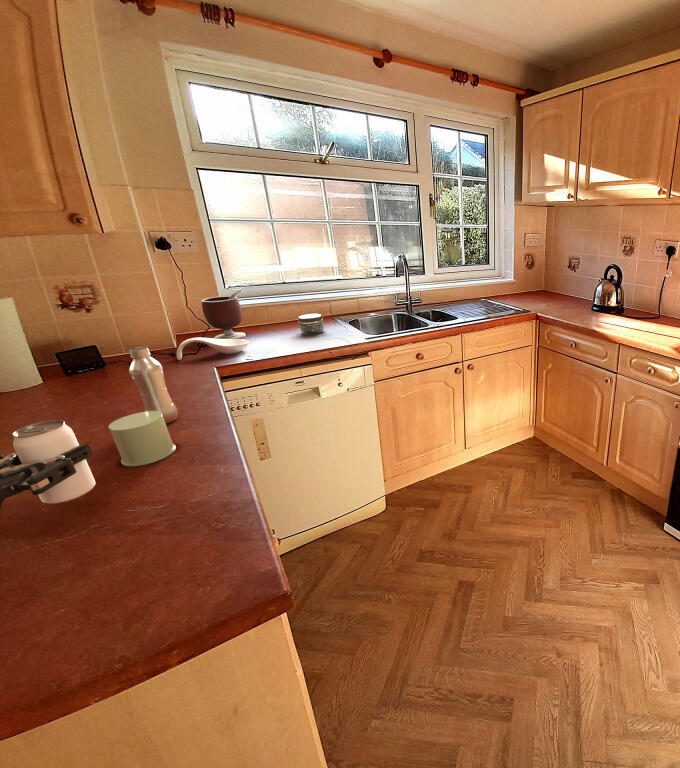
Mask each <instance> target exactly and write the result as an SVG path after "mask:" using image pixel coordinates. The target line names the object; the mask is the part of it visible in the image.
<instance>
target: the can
mask: <svg viewBox="0 0 680 768" xmlns="http://www.w3.org/2000/svg"><path fill="white" fill-rule="evenodd" d="M11 435H12V437H13V441H12V447H13V449H14V450H15V453H17V455H18V457H19V459H20V461H21V463H22V464H24V463H27V462H30V461H34V460H41V461H44V460H47V459H50V458H53V457H56V456H59V455H61V454H63V453H65V452H67V451H69V450H71V449H73V448H75V447H77V446H79V445H80V444H79V441H78V439H77V437H76V435H75V433H74V431H73V429H72V428H71V427H70V426H68V425H67V424H66V422H65V421H64V420H62V419H52V420H45V421H39V422H36V423H32V424H28V425H26V426H23V427H20V428H19V429H16V430H15V431H14V432H12V434H11ZM53 464H55V463H53ZM53 464H50V465H47V466H46V467H45V468H47V467H49V466H51V465H53ZM74 467H75V469H76V471H77V472H76V473H75V474H73V475H72V476H70V477H68V478H67V479H65V480H63V481H62V482H60V483H58V484H57V485H55V486H53V487H52V488H50V489H48V490H47V491H45V492H44V493H42V494H39V495H37V496H38V498H39V500H40V501H41V503H44V504H47V505H59V504H64V503H67V502H71V501H73V500H77V499H79V498H81V497H83V496H85V495H87V494H89V493H90V492H91V491H92V490H93V489H94V487H95V486H96V484H97V483H96V480H95V478H94V475H93V473H92V470H91V468H90V466H89V463H88V462H87V458H86V459H84V460H82V461H81V462H79V463H77V464H75V465H74ZM30 469H31V470H32V472H33V474H36V473H38V470H37V468H36V467H32V468H30ZM61 474H62V473H61Z"/></svg>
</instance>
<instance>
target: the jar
mask: <svg viewBox="0 0 680 768" xmlns="http://www.w3.org/2000/svg"><path fill="white" fill-rule="evenodd" d="M297 319H298V325H299V329H300V332H301V334H303V335H305V336H312V335H318V334H322V333H323V332H324V330H325V327H324V321H323V316H322V314H320V313H307V314H302V315H300V316H298V317H297Z"/></svg>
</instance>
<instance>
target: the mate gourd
mask: <svg viewBox="0 0 680 768" xmlns="http://www.w3.org/2000/svg"><path fill="white" fill-rule="evenodd" d="M239 293H242V291H241V290H237V291H235V292H234V293H232V294H231V295H223V296H213V297H208V298H203V299H201V310H202V313H203V316H204V318H205V320H206V322H207V324H209V325H210V326H211V327H212V328H214V329H219V330H223V331H224V332H223V333H221V334H218V335H215V336H214V337H212V338H213V339H243V338H244V337H246V335H247V334H246V333H245V332H240V331H233V330H232V329H234V328H236V327H237V326H239V325H240V324H241V322H242V320H243V311H242V307H241V304H240V301H239V299H238V297H237V295H238V294H239Z"/></svg>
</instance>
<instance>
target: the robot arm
mask: <svg viewBox="0 0 680 768" xmlns="http://www.w3.org/2000/svg"><path fill="white" fill-rule="evenodd" d="M92 455H93V452H92V450H91V447H90V445H89V444H85V443H81V444H79V446H77V447H75V448H73V449H71V450H69V451H67V452H65V453H63V454H61V455H59V456H56V457H53V458H50V459H47V460H44V461H41V460H34V461H30V462H27V463H24V464H22V463H21V461H20V459H19V457H18V455H17V453H16V452H14V453H13V452H12V453H10V454H7V455H6V456H3V454H0V510H1V508H2V504H3V502H4V500H6V499H7V498H10V497H14V496H16V495H20V494H22V493H24V492H25V491H31V494H32V495H33V496H38V495H39V494H42V493H44V492H45V491H47V490H48V489H50V488H52V487H53V486H55V485H57V484H58V483H60V482H62V481H63V480H65V479H67V478H68V477H70V476H72V475H73V474H75V473H76V472H77V471H76V469H75V467H74V465H75V464H77V463H79V462H81V461H82V460H84V459H86V460H87V459H88V458H90V457H92ZM53 463H55V464H53ZM50 464H53V465H51V466H49V467H47V468H45V467H46V466H47V465H50ZM32 467H36V468H37V470H38V473H36V474H33V472H32V470H31V469H30V468H32ZM61 473H62V474H61Z"/></svg>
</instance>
